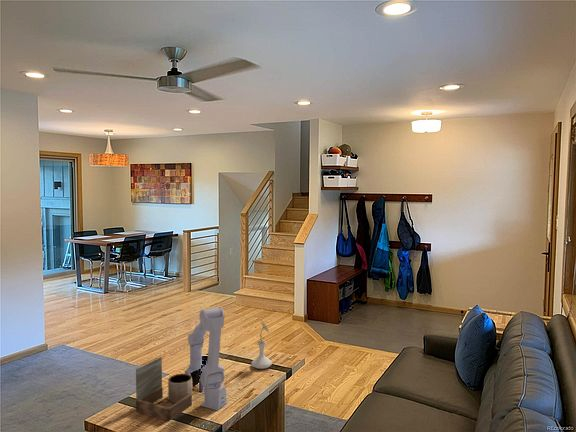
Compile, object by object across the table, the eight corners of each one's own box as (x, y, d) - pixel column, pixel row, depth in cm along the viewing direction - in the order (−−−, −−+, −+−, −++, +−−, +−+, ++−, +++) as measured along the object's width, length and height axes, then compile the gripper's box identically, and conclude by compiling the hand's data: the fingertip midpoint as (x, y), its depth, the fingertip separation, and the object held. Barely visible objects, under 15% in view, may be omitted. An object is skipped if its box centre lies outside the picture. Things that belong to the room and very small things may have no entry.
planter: (185, 405, 191) (185, 384, 191) (163, 402, 194) (163, 382, 193) (195, 394, 202) (195, 374, 202) (174, 391, 204) (174, 372, 204)
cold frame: (191, 405, 191) (191, 364, 190) (168, 421, 177) (168, 377, 177) (160, 396, 199) (160, 357, 198) (136, 411, 185) (135, 369, 184)
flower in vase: (271, 370, 229) (271, 325, 228) (250, 370, 230) (250, 325, 228) (272, 361, 242) (272, 318, 241) (252, 361, 243) (252, 318, 241)
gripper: (198, 351, 216) (198, 376, 217) (179, 360, 203) (179, 388, 204) (209, 353, 213) (209, 379, 214) (191, 363, 200) (191, 391, 201)
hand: (196, 384), depth 208 cm, fingers closed
